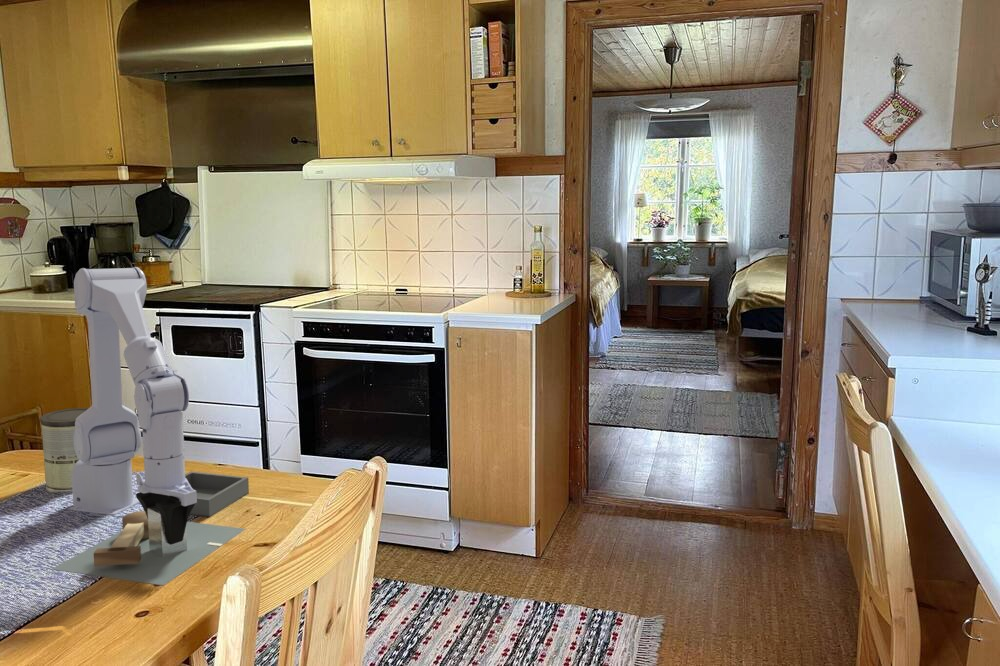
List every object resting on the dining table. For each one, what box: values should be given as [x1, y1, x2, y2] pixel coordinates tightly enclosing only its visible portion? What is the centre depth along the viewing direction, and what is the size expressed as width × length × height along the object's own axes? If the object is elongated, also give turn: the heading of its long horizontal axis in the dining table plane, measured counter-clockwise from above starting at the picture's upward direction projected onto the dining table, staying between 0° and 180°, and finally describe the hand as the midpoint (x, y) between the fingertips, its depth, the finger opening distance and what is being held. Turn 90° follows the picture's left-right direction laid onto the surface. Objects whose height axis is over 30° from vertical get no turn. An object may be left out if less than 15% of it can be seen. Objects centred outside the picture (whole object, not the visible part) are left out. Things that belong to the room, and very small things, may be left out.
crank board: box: [51, 521, 246, 587], centre depth 120 cm, size 19×21×1 cm
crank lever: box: [93, 510, 149, 566], centre depth 120 cm, size 16×6×3 cm, turn 11°
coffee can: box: [39, 407, 90, 494], centre depth 148 cm, size 10×10×14 cm
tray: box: [185, 470, 250, 518], centre depth 140 cm, size 12×12×4 cm
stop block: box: [148, 506, 187, 558], centre depth 119 cm, size 4×4×7 cm
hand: (167, 538), depth 119 cm, fingers closed on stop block, 4 cm apart
